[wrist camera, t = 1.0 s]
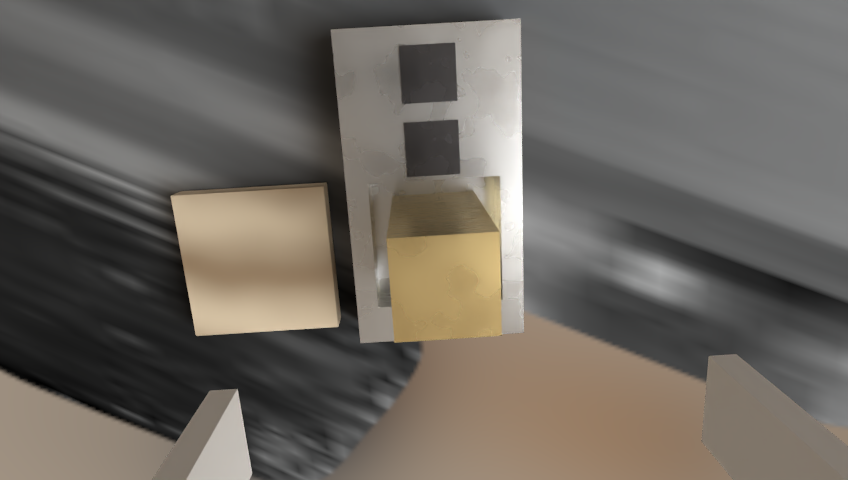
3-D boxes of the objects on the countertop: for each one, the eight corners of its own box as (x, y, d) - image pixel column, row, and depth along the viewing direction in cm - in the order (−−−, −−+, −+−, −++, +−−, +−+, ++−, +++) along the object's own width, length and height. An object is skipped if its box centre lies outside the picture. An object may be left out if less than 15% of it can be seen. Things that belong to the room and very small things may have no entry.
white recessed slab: (337, 34, 32) (330, 29, 29) (510, 24, 32) (520, 18, 29) (364, 322, 37) (360, 343, 34) (514, 313, 37) (523, 333, 34)
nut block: (392, 196, 34) (386, 238, 24) (473, 191, 34) (499, 231, 24) (398, 272, 35) (394, 342, 26) (476, 268, 35) (501, 335, 26)
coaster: (180, 191, 34) (170, 195, 33) (326, 182, 34) (323, 186, 33) (204, 326, 36) (196, 335, 35) (341, 317, 36) (338, 326, 35)
